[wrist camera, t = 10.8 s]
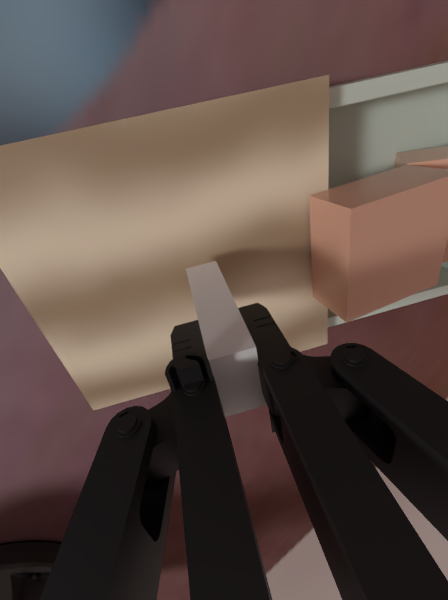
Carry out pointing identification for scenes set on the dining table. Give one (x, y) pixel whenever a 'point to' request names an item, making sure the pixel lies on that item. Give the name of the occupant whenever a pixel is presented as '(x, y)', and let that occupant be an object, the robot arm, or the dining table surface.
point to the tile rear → (425, 165)
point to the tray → (387, 135)
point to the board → (165, 228)
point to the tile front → (378, 239)
